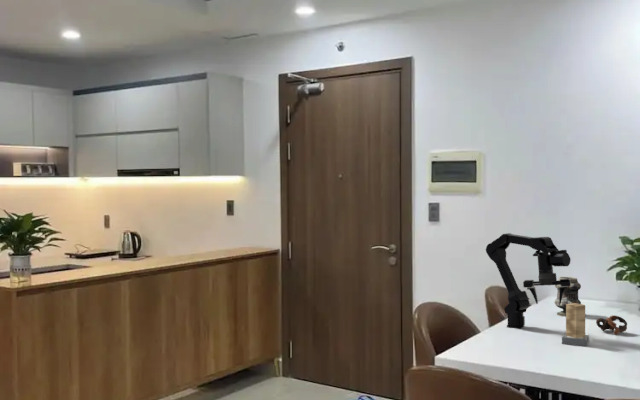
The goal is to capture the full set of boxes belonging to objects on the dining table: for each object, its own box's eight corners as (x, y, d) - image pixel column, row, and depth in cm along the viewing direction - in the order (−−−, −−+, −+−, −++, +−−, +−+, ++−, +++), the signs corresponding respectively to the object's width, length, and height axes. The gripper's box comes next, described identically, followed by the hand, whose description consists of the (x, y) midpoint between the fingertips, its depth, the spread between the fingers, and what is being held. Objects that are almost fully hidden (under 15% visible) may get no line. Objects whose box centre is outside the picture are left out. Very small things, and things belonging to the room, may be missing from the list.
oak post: (565, 335, 260) (566, 304, 260) (575, 334, 262) (575, 303, 262) (575, 338, 255) (576, 306, 255) (585, 336, 258) (585, 305, 257)
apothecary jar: (583, 313, 319) (583, 277, 318) (578, 317, 308) (578, 279, 308) (557, 311, 325) (557, 275, 325) (551, 315, 315) (551, 278, 315)
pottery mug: (619, 331, 282) (627, 316, 278) (623, 345, 274) (631, 330, 270) (591, 323, 284) (598, 308, 279) (594, 337, 275) (601, 322, 271)
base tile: (561, 343, 257) (562, 337, 257) (564, 339, 265) (564, 332, 265) (586, 346, 253) (586, 339, 253) (588, 341, 261) (588, 334, 261)
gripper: (520, 268, 273) (523, 306, 272) (568, 266, 266) (571, 305, 265) (523, 267, 283) (526, 303, 282) (569, 265, 276) (572, 302, 275)
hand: (548, 303), depth 276 cm, fingers open, 9 cm apart
